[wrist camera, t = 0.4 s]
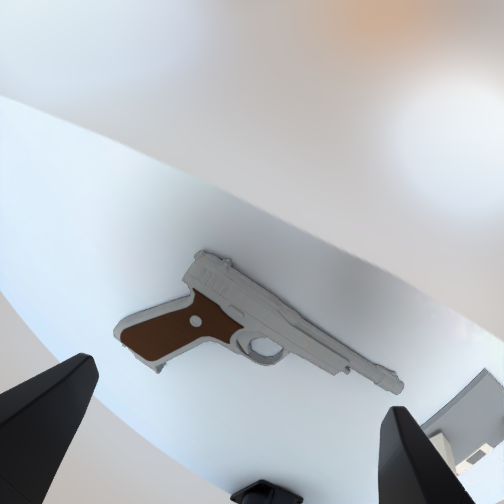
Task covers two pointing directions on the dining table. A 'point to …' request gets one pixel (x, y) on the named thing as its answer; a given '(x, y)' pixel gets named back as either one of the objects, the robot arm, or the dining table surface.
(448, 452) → the lever
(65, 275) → the dining table surface
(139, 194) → the dining table surface
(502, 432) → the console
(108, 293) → the dining table surface
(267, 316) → the handgun
